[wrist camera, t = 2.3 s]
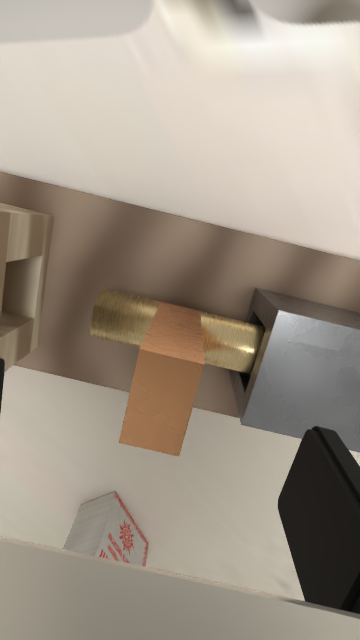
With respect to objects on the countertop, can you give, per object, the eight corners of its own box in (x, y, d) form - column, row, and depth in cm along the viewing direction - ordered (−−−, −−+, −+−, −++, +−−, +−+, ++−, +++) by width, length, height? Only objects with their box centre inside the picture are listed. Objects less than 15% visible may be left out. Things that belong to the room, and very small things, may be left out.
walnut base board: (459, 286, 25) (475, 289, 24) (385, 443, 29) (395, 454, 28) (-43, 161, 24) (-58, 157, 23) (-53, 340, 28) (-66, 346, 27)
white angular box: (115, 555, 34) (84, 687, 24) (81, 504, 32) (33, 623, 22) (148, 543, 33) (129, 674, 23) (115, 491, 31) (80, 607, 22)
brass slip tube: (422, 354, 23) (617, 462, 13) (398, 404, 24) (560, 544, 14) (110, 278, 23) (34, 324, 12) (100, 333, 24) (23, 420, 13)
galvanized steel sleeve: (440, 332, 25) (532, 371, 18) (401, 414, 27) (472, 478, 20) (255, 287, 24) (278, 310, 18) (229, 373, 26) (241, 424, 19)
